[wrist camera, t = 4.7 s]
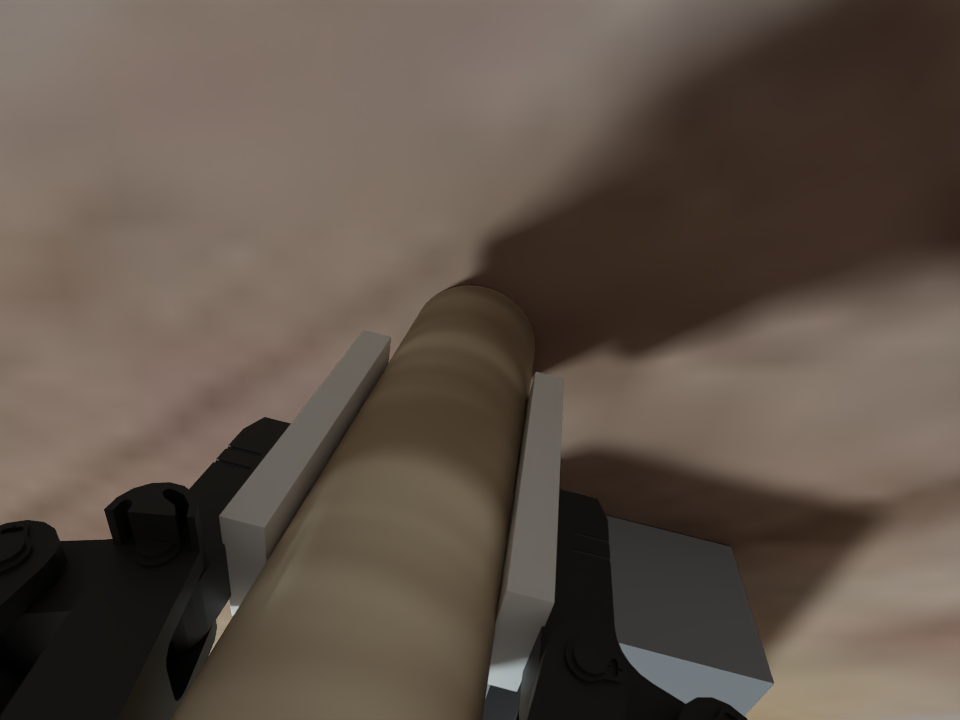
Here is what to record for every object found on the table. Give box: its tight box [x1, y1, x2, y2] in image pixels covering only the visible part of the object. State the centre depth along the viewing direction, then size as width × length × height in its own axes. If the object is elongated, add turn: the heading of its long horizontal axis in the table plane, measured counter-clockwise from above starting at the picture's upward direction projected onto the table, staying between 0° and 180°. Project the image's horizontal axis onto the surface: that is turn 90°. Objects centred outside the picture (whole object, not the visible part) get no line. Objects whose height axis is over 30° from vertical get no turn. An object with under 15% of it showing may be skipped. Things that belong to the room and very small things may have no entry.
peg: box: [170, 285, 536, 720], centre depth 10 cm, size 4×4×16 cm
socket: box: [482, 516, 774, 720], centre depth 20 cm, size 10×10×5 cm
